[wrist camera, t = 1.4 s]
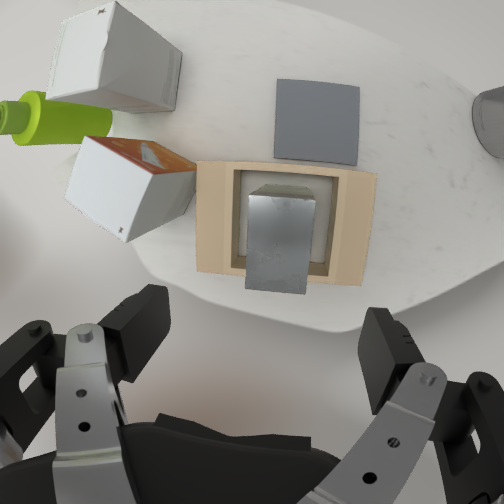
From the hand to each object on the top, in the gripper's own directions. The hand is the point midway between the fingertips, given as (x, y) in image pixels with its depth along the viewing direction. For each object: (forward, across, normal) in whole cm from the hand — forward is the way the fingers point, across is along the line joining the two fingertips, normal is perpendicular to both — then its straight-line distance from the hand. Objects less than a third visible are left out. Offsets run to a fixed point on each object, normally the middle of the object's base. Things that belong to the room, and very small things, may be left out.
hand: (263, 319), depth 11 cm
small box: (+22, +14, -4) cm, 27 cm away
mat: (+22, -3, -11) cm, 25 cm away
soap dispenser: (+22, +26, -12) cm, 36 cm away
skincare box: (+22, +16, -16) cm, 32 cm away
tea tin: (+22, 0, 0) cm, 22 cm away
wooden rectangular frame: (+22, 0, 0) cm, 22 cm away
